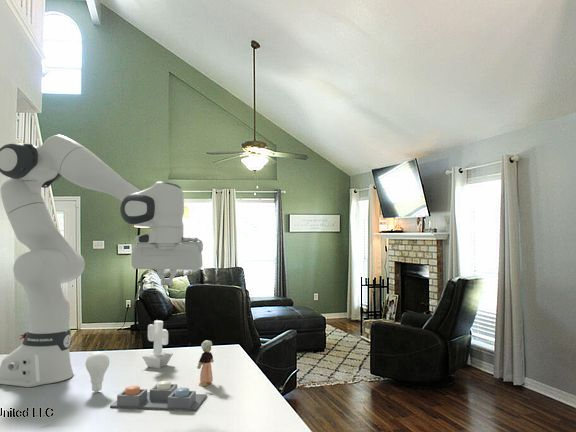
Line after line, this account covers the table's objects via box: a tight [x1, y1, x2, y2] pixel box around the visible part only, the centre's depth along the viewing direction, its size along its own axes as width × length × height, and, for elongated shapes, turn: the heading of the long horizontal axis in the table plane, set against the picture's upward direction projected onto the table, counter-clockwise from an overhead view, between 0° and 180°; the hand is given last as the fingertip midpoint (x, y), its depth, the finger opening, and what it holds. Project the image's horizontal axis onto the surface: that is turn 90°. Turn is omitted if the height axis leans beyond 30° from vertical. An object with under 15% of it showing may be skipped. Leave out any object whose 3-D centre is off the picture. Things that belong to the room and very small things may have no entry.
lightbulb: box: [85, 351, 110, 393], centre depth 130 cm, size 6×6×11 cm
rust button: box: [124, 385, 141, 395], centre depth 120 cm, size 4×4×3 cm
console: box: [109, 383, 208, 412], centre depth 122 cm, size 22×11×3 cm, turn 86°
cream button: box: [156, 380, 172, 390], centre depth 125 cm, size 4×4×3 cm
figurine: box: [141, 319, 174, 369], centre depth 157 cm, size 7×9×15 cm
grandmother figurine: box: [196, 339, 214, 387], centre depth 138 cm, size 8×4×13 cm, turn 168°
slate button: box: [175, 386, 190, 397], centre depth 119 cm, size 4×4×3 cm
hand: (166, 285), depth 135 cm, fingers closed
